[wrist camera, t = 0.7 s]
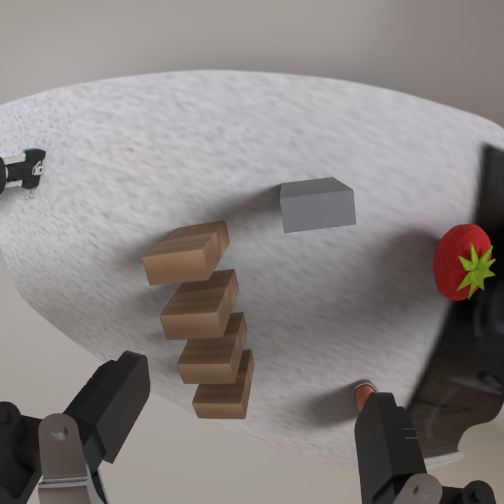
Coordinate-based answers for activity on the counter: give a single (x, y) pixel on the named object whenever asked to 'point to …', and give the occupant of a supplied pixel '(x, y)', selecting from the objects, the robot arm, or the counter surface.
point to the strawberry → (462, 261)
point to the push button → (22, 170)
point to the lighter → (363, 392)
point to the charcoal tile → (316, 205)
